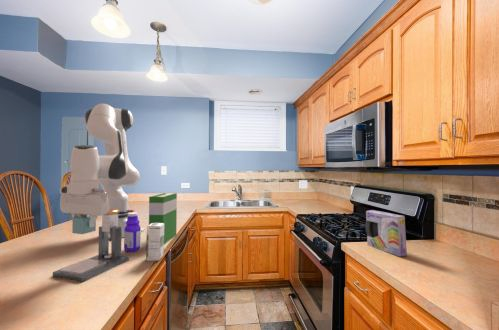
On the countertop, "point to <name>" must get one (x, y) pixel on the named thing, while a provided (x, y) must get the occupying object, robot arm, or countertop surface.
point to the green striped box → (164, 213)
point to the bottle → (132, 233)
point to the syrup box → (155, 242)
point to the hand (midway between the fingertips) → (84, 226)
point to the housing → (82, 225)
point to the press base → (96, 259)
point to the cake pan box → (386, 232)
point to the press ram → (110, 222)
